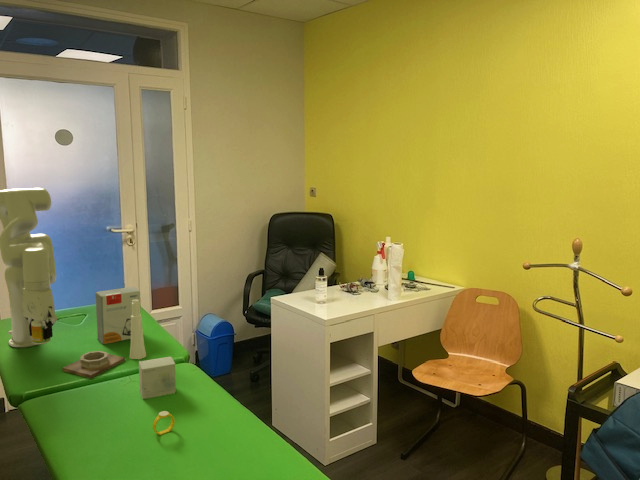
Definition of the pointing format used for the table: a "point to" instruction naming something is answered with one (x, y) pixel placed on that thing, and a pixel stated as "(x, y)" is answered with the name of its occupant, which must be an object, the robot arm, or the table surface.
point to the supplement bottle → (38, 332)
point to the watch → (163, 415)
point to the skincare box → (157, 377)
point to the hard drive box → (115, 314)
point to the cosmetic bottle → (136, 333)
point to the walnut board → (93, 370)
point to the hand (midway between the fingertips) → (41, 335)
